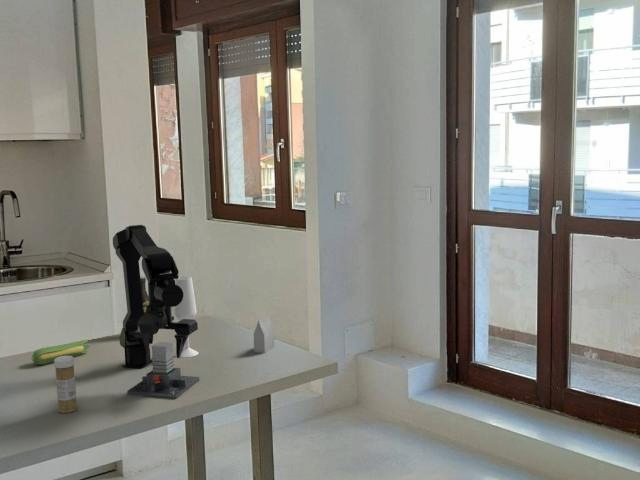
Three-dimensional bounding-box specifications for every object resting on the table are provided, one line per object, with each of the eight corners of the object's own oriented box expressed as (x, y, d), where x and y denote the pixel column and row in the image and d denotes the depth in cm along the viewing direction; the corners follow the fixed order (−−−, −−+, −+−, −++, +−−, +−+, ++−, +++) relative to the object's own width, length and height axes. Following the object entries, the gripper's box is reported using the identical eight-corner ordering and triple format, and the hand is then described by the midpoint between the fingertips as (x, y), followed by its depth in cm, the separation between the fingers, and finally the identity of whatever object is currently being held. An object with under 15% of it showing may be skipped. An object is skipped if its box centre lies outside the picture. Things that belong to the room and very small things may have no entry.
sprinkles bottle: (71, 405, 179) (68, 353, 177) (81, 409, 176) (77, 357, 174) (54, 410, 176) (50, 358, 174) (63, 415, 173) (59, 361, 171)
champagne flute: (194, 357, 217) (190, 280, 213) (173, 356, 218) (169, 279, 214) (201, 350, 223) (198, 275, 220) (181, 350, 224) (177, 275, 221)
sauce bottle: (146, 337, 240) (143, 279, 237) (129, 337, 241) (125, 279, 238) (154, 332, 246) (151, 275, 243) (138, 331, 247) (134, 275, 244)
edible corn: (27, 351, 212) (33, 349, 209) (87, 338, 227) (95, 336, 224) (30, 368, 212) (37, 367, 209) (90, 354, 227) (98, 352, 224)
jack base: (127, 394, 186) (126, 377, 186) (153, 376, 200) (152, 361, 199) (176, 398, 183) (175, 381, 182) (199, 380, 196) (198, 364, 195)
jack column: (152, 374, 189) (151, 346, 188) (160, 369, 193) (158, 341, 192) (167, 375, 188) (165, 346, 187) (174, 370, 192) (172, 342, 191)
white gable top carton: (274, 347, 226) (273, 316, 224) (264, 353, 220) (263, 321, 218) (264, 346, 227) (263, 315, 226) (254, 352, 221) (253, 320, 220)
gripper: (111, 305, 182) (115, 363, 185) (178, 308, 178) (181, 368, 180) (133, 295, 193) (137, 351, 195) (197, 298, 188) (199, 355, 190)
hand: (162, 356), depth 190 cm, fingers open, 9 cm apart
